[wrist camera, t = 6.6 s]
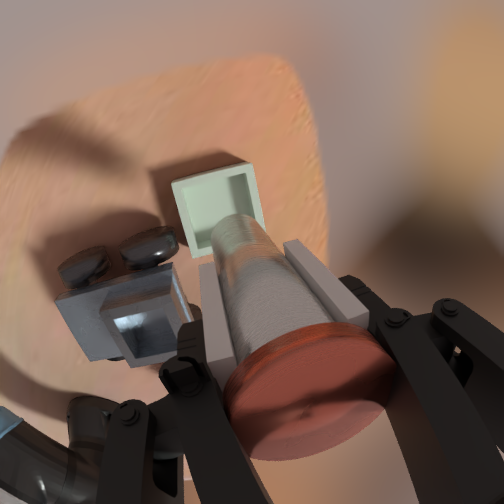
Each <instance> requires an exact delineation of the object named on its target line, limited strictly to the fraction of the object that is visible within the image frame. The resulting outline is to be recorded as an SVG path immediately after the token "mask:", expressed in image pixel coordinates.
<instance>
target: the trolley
mask: <svg viewBox="0 0 504 504" xmlns="http://www.w3.org/2000/svg"><path fill="white" fill-rule="evenodd" d="M178 250H179V245H178V242H177V238H176V235H175V232H174V229H173V227H169V226H164V227H157V228H153V229H149V230H146V231H143V232H141V233H138V234H136V235H134V236H132V237H130V238H128V239H127V240H125V241H124V242H123V243H122V244H121V245H120V246H119V251H120V254H121V256H122V259H123V262H124V264H125V267H126V268H127V269H129V270H141V269H143V270H142V271H138V272H135V273H131V274H128V275H124V276H121V277H117V278H113V279H110V280H106V281H103V282H99V283H97V281H96V280H97V279H98V278H100V277H101V276H103V275H104V274H105V273H106V272H107V271H108V270H109V269H110V267H111V264H110V261H109V259H108V256H107V254H106V251H105V248H104V247H103V246H97V247H93V248H89V249H86V250H84V251H82V252H79V253H77V254H75V255H74V256H72V257H70V258H69V259H67V260H66V261H64V262H63V263H62V264H61V265H60V266H59V267H58V272H59V275H60V277H61V279H62V281H63V283H64V285H65V287H66V288H67V289H75V288H77V289H75V290H72V291H68V292H65V293H61V294H60V295H59V296H58V297H57V299H56V300H55V304H56V306H57V307H58V309H59V311H60V313H61V315H62V317H63V318H64V320H65V322H66V324H67V325H68V327H69V329H70V331H71V332H72V334H73V336H74V337H75V339H76V340H77V342H78V344H79V345H80V347H81V348H82V350H83V351H84V353H85V355H86V356H87V358H88V359H89V361H90V362H91V361H97V360H103V359H107V360H110V361H120V360H124V359H125V360H126V361H127V363H128V364H129V366H130V368H135V367H140V366H146V365H151V364H156V363H161V362H166V361H167V360H168V359H169V358H171V357H173V356H176V355H177V344H178V343H177V333H178V331H179V329H180V328H181V326H182V324H183V323H188V322H192V321H196V320H200V319H203V317H202V312H201V310H200V308H199V307H198V306H196V305H194V304H190V303H187V300H186V297H185V295H184V292H183V289H182V287H181V284H180V281H179V278H178V275H177V273H176V270H175V267H174V264H173V262H171V263H167V264H163V265H162V264H161V263H162V262H164V261H166V260H168V259H170V258H171V257H172V256H174V255H175V254H176V253H177V252H178Z"/></svg>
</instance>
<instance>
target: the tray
mask: <svg viewBox="0 0 504 504" xmlns="http://www.w3.org/2000/svg"><path fill="white" fill-rule="evenodd" d="M171 185H172V189H173V193H174V197H175V200H176V204H177V207H178V211H179V214H180V218H181V221H182V225H183V228H184V232H185V235H186V238H187V242H188V245H189V248H190V252H191V255H192V258H193V259H194V258H197V257H201V256H205V255H208V254H212V253H213V251H212V246H211V234H212V231H213V229H214V227H215V225H216V224H217V223H218V222H219V221H220V220H221V219H223V218H224V217H226V216H228V215H231V214H246V215H248V216H250V217H252V218H254V219H255V220H256V221H257V222H258V223H259V224H260V226H261V227H262V228H263V229H264V231H265V232H266V229H265V224H264V219H263V214H262V209H261V204H260V199H259V194H258V189H257V184H256V179H255V174H254V170H253V165H252V163H250V162H247V161H246V162H242V163H237V164H233V165H229V166H224V167H220V168H216V169H212V170H208V171H204V172H200V173H197V174H193V175H189V176H186V177H182V178H178V179H175V180H173V181H172V183H171Z"/></svg>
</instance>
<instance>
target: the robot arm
mask: <svg viewBox="0 0 504 504" xmlns="http://www.w3.org/2000/svg"><path fill="white" fill-rule="evenodd" d="M283 246H284V252H285V257H286V259H287V260H288V261H289V262H290V264H291V265H292V266H293V268H294V269H295V270H296V271H297V273H298V274H299V275H300V277H301V278H302V279H303V280H304V282H305V283H306V284H307V286H308V287H309V288H310V289H311V291H312V292H313V293H314V295H315V296H316V297H317V299H318V300H319V301H320V302H321V304H322V305H323V306H324V308H325V309H326V310H327V312H328V313H329V314H330V316H331V317H332V318H333V320H334V321H335V322H345V323H350V324H355V325H357V326H360V327H362V328H364V329H365V330H367V331H368V332H369V333H370V334H371V335H372V336H373V337H374V338H375V339H376V340H377V341H378V343H379V344H380V345H381V346H382V347H383V349H384V350H385V351H386V352H387V353H388V354H389V356H390V357H391V358H392V359H393V360H394V362H395V363H396V365H397V367H396V371H395V375H394V379H393V383H392V387H391V391H390V395H389V398H388V402H387V405H386V408H385V410H386V413H387V415H388V418H389V420H390V422H391V425H392V428H393V430H394V433H395V436H396V438H397V441H398V443H399V446H400V449H401V451H402V454H403V457H404V460H405V462H406V465H407V468H408V471H409V474H410V477H411V480H412V482H413V485H414V488H415V492H416V495H417V498H418V501H419V504H504V461H503V459H502V456H501V454H500V453H499V450H498V448H497V446H498V447H499V449H500V450H501V451H502V452H503V453H504V333H503V332H501V331H500V330H499V329H498V328H496V327H495V326H494V325H492V324H491V323H490V322H488V321H487V320H485V319H484V318H483V317H481V316H480V315H478V314H477V313H475V312H474V311H472V310H471V309H470V308H468V307H467V306H465V305H464V304H462V303H461V302H459V301H457V300H454V299H450V298H445V299H441V300H438V301H436V302H435V304H434V305H433V309H432V313H427V314H422V315H417V316H413V315H412V314H411V313H409V312H408V311H406V310H403V309H399V308H390V307H389V306H388V305H387V304H386V303H385V302H384V301H383V300H382V299H381V298H379V297H378V296H377V295H376V294H375V293H374V292H372V291H371V289H370V288H368V287H366V285H365V284H364V283H363V282H362V281H361V280H360V279H358V278H356V277H353V276H350V275H347V276H344V277H341V278H337V277H336V276H335V275H333V274H332V273H331V272H330V271H329V269H328V268H327V267H326V266H325V265H324V264H323V263H322V262H320V261H319V260H318V259H317V258H316V257H315V256H314V255H313V254H312V253H311V252H310V251H309V250H308V249H307V248H306V247H305V246H304V245H303V244H302V243H301V242H300V241H299V240H298V239H296V240H292V241H288V242H285V243H283ZM199 276H200V291H201V304H202V317H203V319H200V320H196V321H192V322H188V323H183V324H182V326H181V328H180V329H179V331H178V333H177V343H178V344H177V355H176V356H173V357H171V358H169V359H168V360H167V361H166V362H165V363H163V365H162V366H161V368H160V370H159V378H160V380H161V382H162V383H163V385H164V386H165V388H166V389H167V391H168V392H169V394H168V395H167V396H165V397H163V398H162V399H160V400H158V401H155V402H153V403H151V404H149V405H146V404H145V403H144V402H142V401H140V400H135V399H132V400H127V401H124V402H123V403H121V404H117V403H115V402H112V401H109V400H106V399H102V398H97V397H79V398H76V399H74V400H72V401H71V402H70V404H69V407H68V410H67V422H68V435H69V447H68V448H67V447H65V446H64V445H62V444H60V443H58V442H57V441H55V440H53V439H52V438H50V437H48V436H47V435H45V434H43V433H42V432H40V431H39V430H37V429H36V428H34V427H33V426H31V425H30V424H28V423H27V422H26V421H24V419H23V418H20V417H18V416H17V415H15V414H14V413H12V412H11V411H10V410H8V409H7V408H5V407H3V406H0V504H184V479H183V454H185V456H186V459H187V463H188V466H189V469H190V472H191V476H192V479H193V482H194V485H195V488H196V491H197V493H198V496H199V499H200V501H201V504H274V503H273V501H272V500H271V498H270V496H269V494H268V492H267V490H266V489H265V487H264V485H263V483H262V481H261V479H260V477H259V475H258V473H257V472H256V470H255V468H254V466H253V464H252V462H251V460H250V458H249V456H248V455H247V453H246V451H245V450H244V448H243V446H242V445H241V443H240V441H239V439H238V438H237V436H236V434H235V432H234V431H233V429H232V427H231V425H230V423H229V420H228V418H227V415H226V412H225V410H224V407H223V400H222V399H223V391H224V388H225V384H226V383H227V381H228V379H229V377H230V375H231V374H232V373H233V371H234V370H235V369H236V367H237V366H238V365H237V360H236V356H235V352H234V347H233V343H232V338H231V334H230V329H229V325H228V320H227V316H226V311H225V306H224V302H223V297H222V292H221V287H220V282H219V277H218V273H217V270H216V266H215V263H214V262H210V263H206V264H203V265H199ZM456 346H457V347H458V348H459V349H460V350H461V352H460V353H457V352H455V351H454V350H455V347H456ZM496 445H497V446H496Z"/></svg>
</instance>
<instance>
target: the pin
mask: <svg viewBox="0 0 504 504" xmlns="http://www.w3.org/2000/svg"><path fill="white" fill-rule="evenodd" d="M211 246H212V251H213V257H214V262H215V266H216V270H217V273H218V277H219V282H220V287H221V292H222V297H223V302H224V306H225V311H226V316H227V320H228V325H229V329H230V334H231V338H232V343H233V347H234V352H235V356H236V360H237V365H238V366H237V367H236V369H235V370H234V371H233V373H232V374H231V375H230V377H229V379H228V381H227V383H226V384H225V388H224V391H223V399H222V400H223V407H224V410H225V412H226V415H227V418H228V420H229V423H230V425H231V427H232V429H233V431H234V432H235V434H236V436H237V438H238V439H239V441H240V443H241V445H242V446H243V448H244V450H245V451H246V453H247V455H248V456H249V457H250V458H253V459H258V460H266V461H284V460H292V459H298V458H302V457H307V456H311V455H314V454H317V453H320V452H323V451H325V450H328V449H330V448H332V447H334V446H337V445H339V444H340V443H342V442H344V441H346V440H348V439H349V438H351V437H353V436H354V435H356V434H357V433H359V432H360V431H361V430H363V429H364V428H365V427H367V426H368V425H369V424H370V423H371V422H372V421H373V420H375V419H376V418H377V417H378V416H379V414H380V413H381V412H382V411H383V410H384V409H385V408H386V405H387V402H388V398H389V395H390V391H391V387H392V383H393V379H394V375H395V371H396V367H397V365H396V363H395V362H394V360H393V359H392V358H391V357H390V356H389V354H388V353H387V352H386V351H385V350H384V349H383V347H382V346H381V345H380V344H379V343H378V341H377V340H376V339H375V338H374V337H373V336H372V335H371V334H370V333H369V332H368V331H367V330H365V329H364V328H362V327H360V326H357V325H355V324H350V323H345V322H335V321H334V320H333V318H332V317H331V316H330V314H329V313H328V312H327V310H326V309H325V308H324V306H323V305H322V304H321V302H320V301H319V300H318V299H317V297H316V296H315V295H314V293H313V292H312V291H311V289H310V288H309V287H308V286H307V284H306V283H305V282H304V280H303V279H302V278H301V277H300V275H299V274H298V273H297V271H296V270H295V269H294V268H293V266H292V265H291V264H290V262H289V261H288V260H287V259H286V257H285V256H284V255H283V253H282V252H281V251H280V250H279V248H278V247H277V246H276V245H275V243H274V242H273V241H272V240H271V238H270V237H269V236H268V235H267V233H266V232H265V231H264V229H263V228H262V227H261V226H260V224H259V223H258V222H257V221H256V220H255V219H254V218H252V217H250V216H248V215H246V214H231V215H228V216H226V217H224V218H223V219H221V220H220V221H219V222H218V223H217V224H216V225H215V227H214V229H213V231H212V234H211Z"/></svg>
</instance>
